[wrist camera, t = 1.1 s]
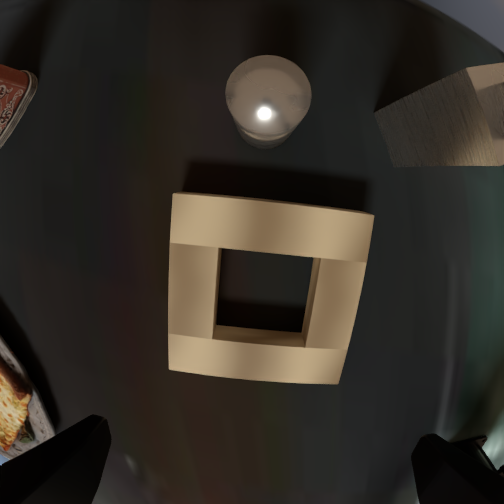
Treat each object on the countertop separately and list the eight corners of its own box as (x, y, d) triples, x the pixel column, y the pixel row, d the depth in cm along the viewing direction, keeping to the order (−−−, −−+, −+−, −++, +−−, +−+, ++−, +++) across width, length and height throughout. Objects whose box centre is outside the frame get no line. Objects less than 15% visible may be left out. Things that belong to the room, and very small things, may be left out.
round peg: (294, 101, 17) (314, 60, 10) (289, 152, 18) (307, 137, 11) (240, 95, 17) (230, 52, 10) (234, 146, 18) (221, 129, 11)
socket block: (363, 211, 19) (374, 215, 17) (332, 367, 21) (338, 384, 19) (181, 191, 19) (173, 193, 17) (175, 353, 21) (169, 369, 19)
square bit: (437, 151, 18) (580, 145, 6) (394, 167, 18) (537, 167, 6) (418, 100, 17) (550, 51, 5) (373, 113, 17) (499, 53, 6)
